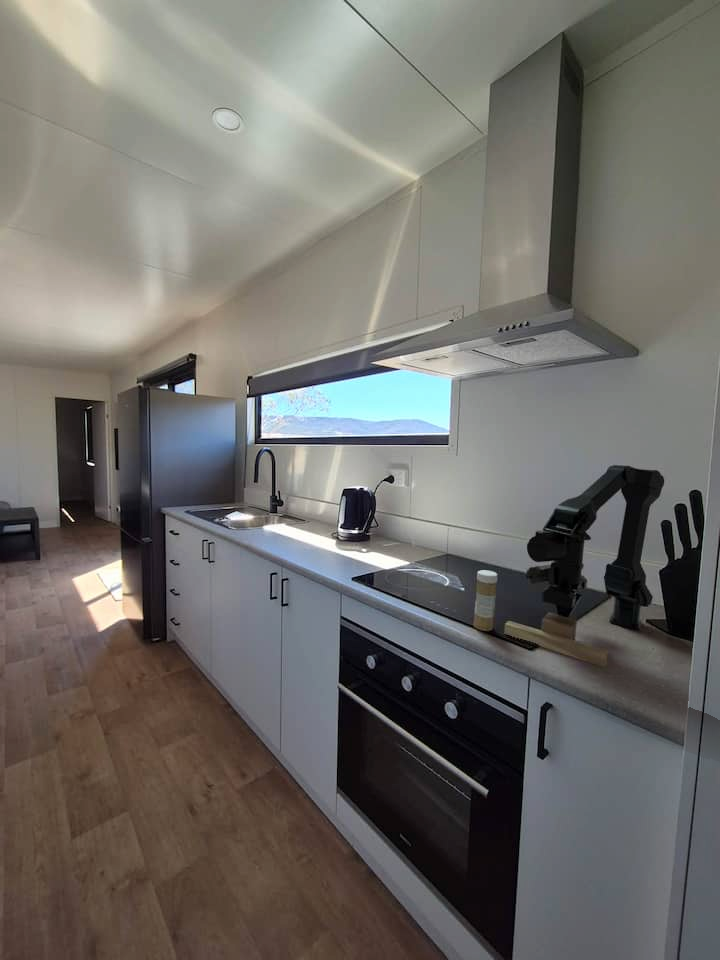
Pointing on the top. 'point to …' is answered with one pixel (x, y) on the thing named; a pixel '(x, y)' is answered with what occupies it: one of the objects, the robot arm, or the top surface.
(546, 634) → the oak board
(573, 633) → the tan wooden block
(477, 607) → the sprinkles bottle
